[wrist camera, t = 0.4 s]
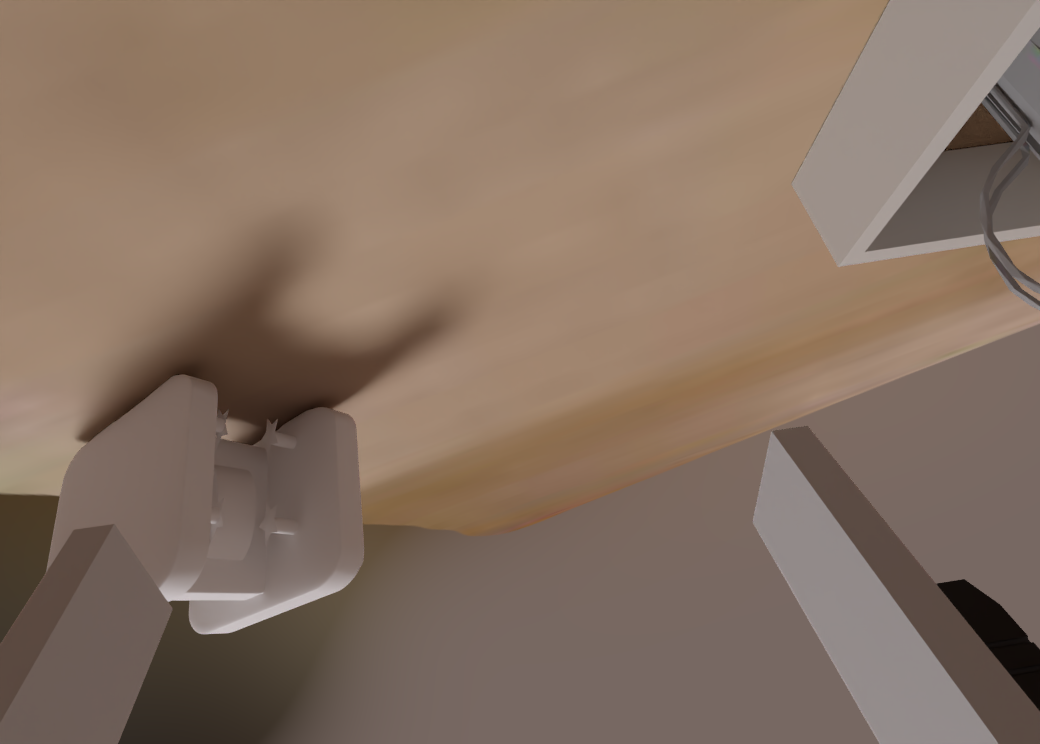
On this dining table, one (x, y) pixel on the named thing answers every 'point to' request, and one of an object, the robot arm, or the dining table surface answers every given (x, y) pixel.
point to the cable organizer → (223, 504)
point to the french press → (1013, 151)
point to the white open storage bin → (920, 136)
